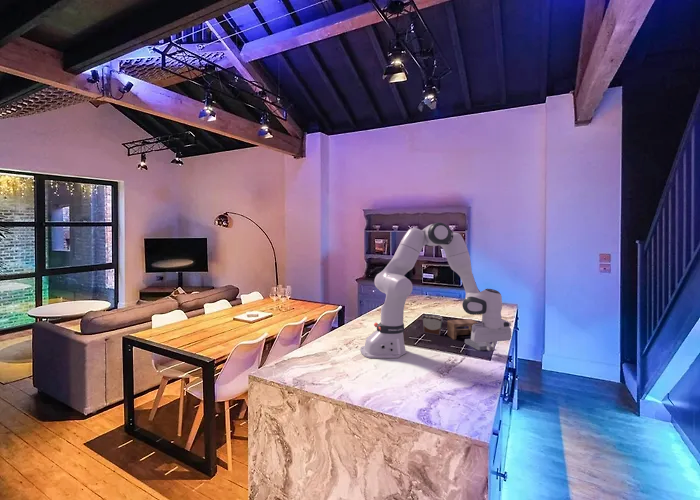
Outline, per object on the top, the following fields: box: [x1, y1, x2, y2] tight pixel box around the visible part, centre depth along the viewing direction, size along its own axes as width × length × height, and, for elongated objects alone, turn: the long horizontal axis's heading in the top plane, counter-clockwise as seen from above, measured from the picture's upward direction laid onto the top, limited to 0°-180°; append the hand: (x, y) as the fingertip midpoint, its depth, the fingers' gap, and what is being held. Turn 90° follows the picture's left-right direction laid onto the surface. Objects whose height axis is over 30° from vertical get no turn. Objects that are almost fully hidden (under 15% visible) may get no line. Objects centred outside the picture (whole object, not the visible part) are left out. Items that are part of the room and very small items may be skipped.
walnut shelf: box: [446, 318, 479, 340], centre depth 204 cm, size 15×8×8 cm, turn 102°
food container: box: [421, 313, 444, 336], centre depth 211 cm, size 12×6×10 cm, turn 58°
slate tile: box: [464, 338, 492, 351], centre depth 189 cm, size 8×12×2 cm, turn 18°
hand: (490, 350), depth 178 cm, fingers closed
